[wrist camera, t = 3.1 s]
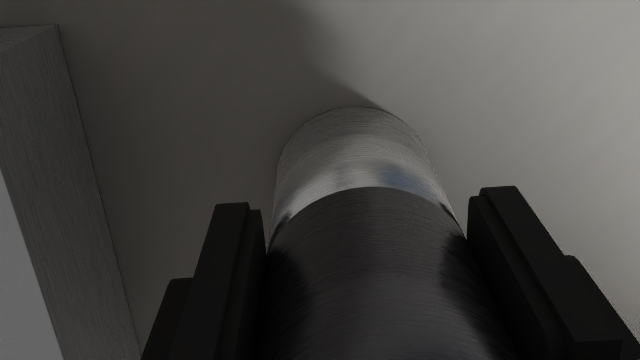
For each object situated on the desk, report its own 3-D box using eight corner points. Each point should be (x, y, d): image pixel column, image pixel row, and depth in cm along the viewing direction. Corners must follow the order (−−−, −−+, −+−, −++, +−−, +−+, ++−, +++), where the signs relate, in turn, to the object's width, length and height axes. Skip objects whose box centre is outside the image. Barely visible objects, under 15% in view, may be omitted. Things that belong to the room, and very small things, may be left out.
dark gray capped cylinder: (428, 240, 15) (678, 967, 5) (283, 249, 15) (226, 988, 5) (431, 101, 13) (815, 752, 3) (269, 111, 13) (141, 786, 3)
